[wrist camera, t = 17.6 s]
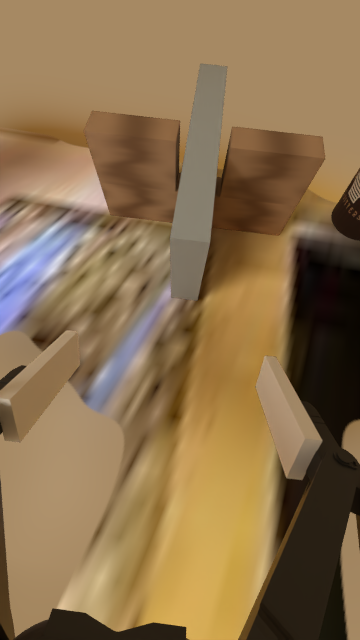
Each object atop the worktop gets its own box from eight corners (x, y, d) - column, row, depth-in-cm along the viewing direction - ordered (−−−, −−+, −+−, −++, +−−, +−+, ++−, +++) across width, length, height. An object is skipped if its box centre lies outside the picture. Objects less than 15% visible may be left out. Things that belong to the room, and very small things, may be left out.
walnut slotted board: (110, 215, 31) (83, 130, 22) (115, 197, 32) (92, 110, 23) (278, 235, 31) (325, 158, 21) (278, 217, 32) (322, 136, 22)
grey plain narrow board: (197, 300, 27) (210, 242, 18) (171, 297, 27) (170, 237, 18) (213, 156, 36) (227, 66, 26) (193, 154, 36) (200, 63, 26)
